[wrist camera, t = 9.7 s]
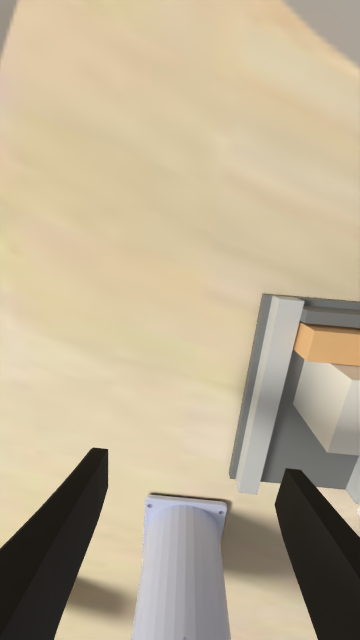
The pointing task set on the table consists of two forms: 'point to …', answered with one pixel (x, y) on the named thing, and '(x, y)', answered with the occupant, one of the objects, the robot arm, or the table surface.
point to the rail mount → (287, 401)
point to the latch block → (328, 344)
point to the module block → (331, 405)
